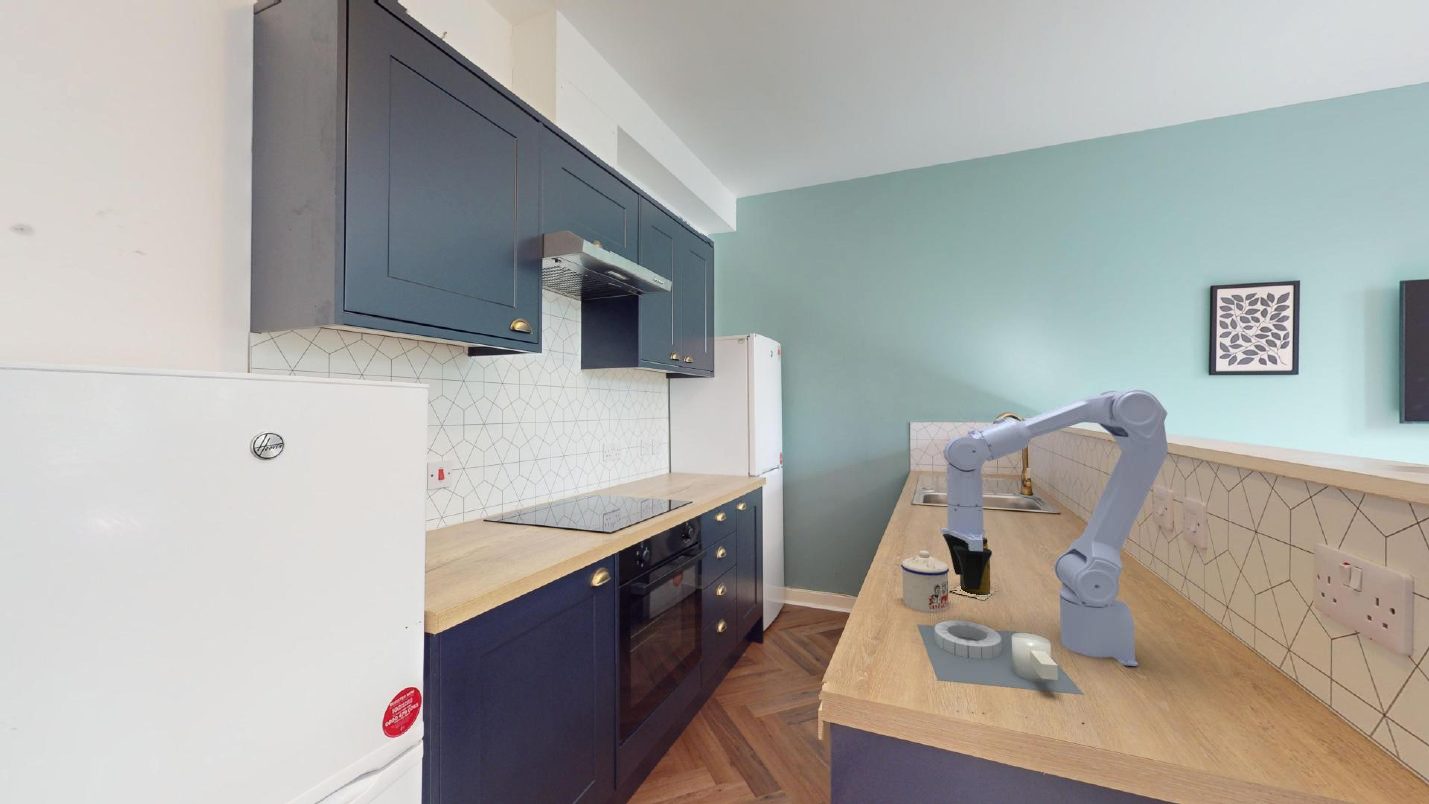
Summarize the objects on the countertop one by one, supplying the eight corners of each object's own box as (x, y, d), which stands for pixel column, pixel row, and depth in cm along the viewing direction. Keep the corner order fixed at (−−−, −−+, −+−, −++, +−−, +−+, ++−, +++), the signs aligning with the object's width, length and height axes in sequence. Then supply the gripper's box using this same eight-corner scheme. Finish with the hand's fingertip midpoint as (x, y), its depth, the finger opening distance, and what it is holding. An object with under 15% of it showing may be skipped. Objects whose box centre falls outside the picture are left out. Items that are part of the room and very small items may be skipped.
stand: (1031, 638, 91) (1030, 621, 91) (1084, 701, 72) (1083, 679, 72) (917, 629, 96) (916, 613, 96) (937, 686, 76) (937, 666, 76)
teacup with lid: (936, 621, 99) (935, 560, 99) (893, 608, 106) (892, 551, 106) (964, 605, 107) (962, 548, 107) (921, 593, 114) (920, 540, 114)
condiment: (997, 590, 115) (996, 536, 115) (984, 601, 109) (982, 544, 109) (963, 583, 120) (962, 531, 120) (948, 592, 114) (947, 538, 114)
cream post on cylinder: (1007, 663, 80) (1006, 631, 80) (1043, 666, 79) (1042, 634, 79) (1030, 695, 72) (1029, 659, 72) (1070, 699, 71) (1069, 662, 71)
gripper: (933, 496, 99) (934, 567, 99) (949, 511, 85) (951, 594, 85) (973, 497, 97) (974, 569, 97) (996, 513, 83) (998, 597, 83)
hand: (966, 581), depth 91 cm, fingers open, 7 cm apart
